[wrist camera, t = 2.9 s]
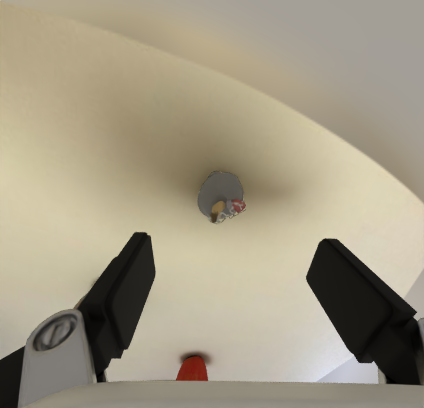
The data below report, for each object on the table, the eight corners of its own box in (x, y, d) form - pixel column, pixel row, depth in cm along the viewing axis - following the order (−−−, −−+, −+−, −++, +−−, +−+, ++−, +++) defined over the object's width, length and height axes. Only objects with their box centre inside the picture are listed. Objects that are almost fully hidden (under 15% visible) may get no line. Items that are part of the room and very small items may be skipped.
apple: (187, 347, 31) (181, 410, 24) (215, 355, 32) (217, 417, 26) (172, 361, 33) (162, 422, 26) (199, 369, 35) (196, 428, 28)
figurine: (207, 161, 16) (205, 180, 11) (249, 174, 17) (268, 199, 11) (193, 208, 18) (186, 243, 13) (231, 218, 19) (239, 256, 14)
